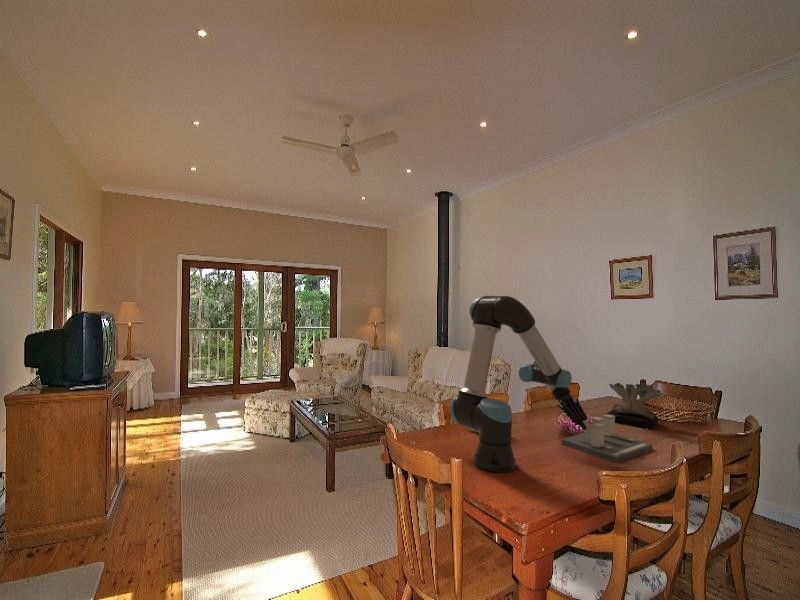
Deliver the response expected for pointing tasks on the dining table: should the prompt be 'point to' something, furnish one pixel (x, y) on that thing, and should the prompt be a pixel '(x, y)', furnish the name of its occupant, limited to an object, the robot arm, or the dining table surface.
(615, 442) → the switch panel
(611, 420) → the far lever
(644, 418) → the coral
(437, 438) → the dining table surface
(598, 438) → the near lever
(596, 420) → the middle lever
